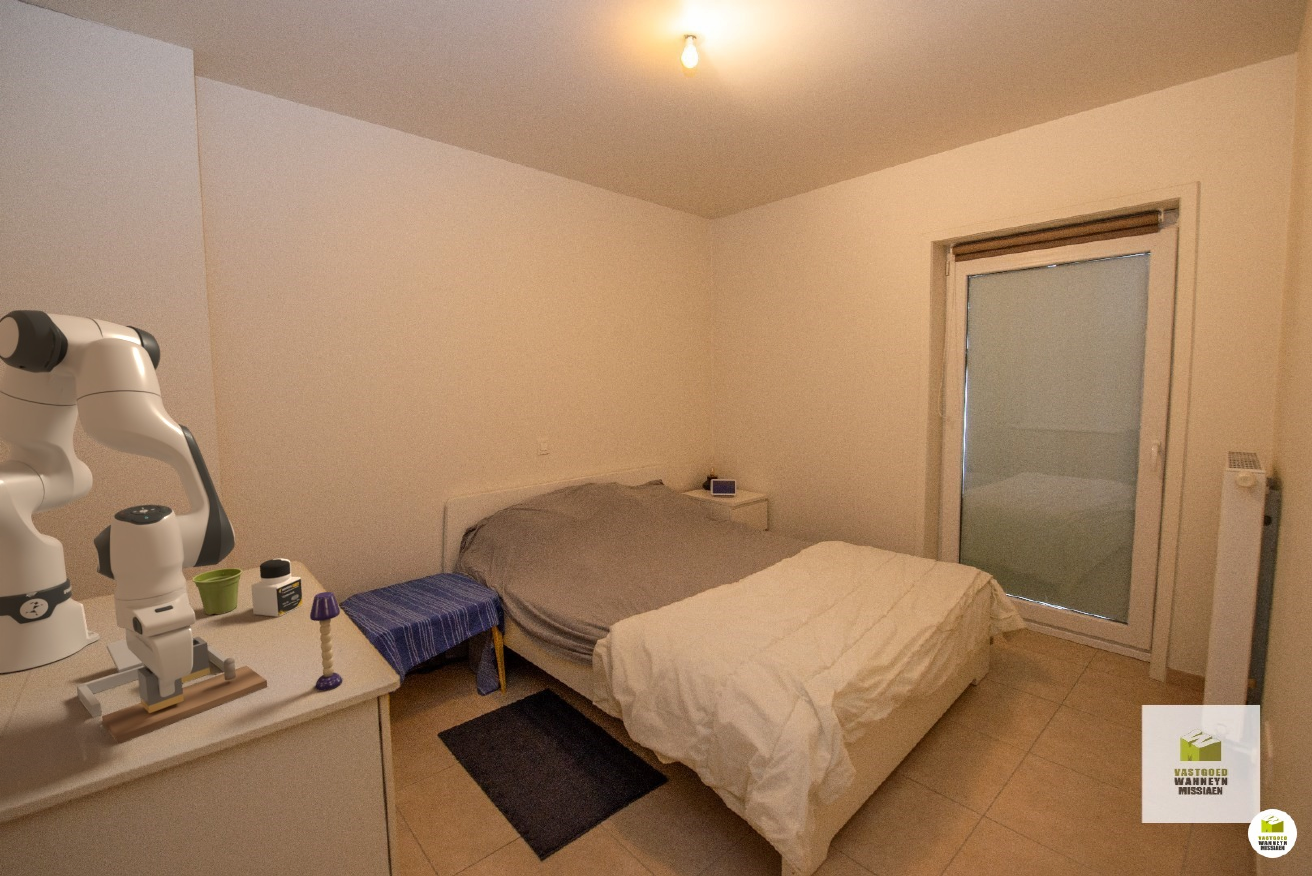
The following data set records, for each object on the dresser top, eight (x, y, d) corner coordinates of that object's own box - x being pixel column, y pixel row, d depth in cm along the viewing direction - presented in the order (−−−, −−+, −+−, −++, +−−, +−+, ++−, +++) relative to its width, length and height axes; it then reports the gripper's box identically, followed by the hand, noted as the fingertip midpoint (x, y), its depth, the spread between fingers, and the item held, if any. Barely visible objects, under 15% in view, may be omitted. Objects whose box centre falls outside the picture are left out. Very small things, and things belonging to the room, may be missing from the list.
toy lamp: (310, 683, 105) (304, 594, 103) (338, 674, 108) (333, 587, 107) (320, 693, 102) (314, 601, 100) (348, 683, 105) (343, 594, 103)
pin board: (102, 723, 93) (99, 689, 92) (246, 671, 109) (244, 643, 109) (118, 743, 88) (114, 708, 87) (267, 686, 104) (265, 656, 103)
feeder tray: (68, 683, 105) (64, 654, 105) (196, 643, 120) (194, 619, 120) (93, 717, 95) (89, 685, 94) (230, 669, 110) (228, 642, 109)
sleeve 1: (141, 704, 95) (137, 669, 94) (174, 692, 99) (171, 658, 98) (149, 713, 93) (145, 677, 92) (183, 700, 96) (180, 666, 95)
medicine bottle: (278, 617, 134) (275, 566, 132) (252, 614, 135) (248, 564, 134) (303, 605, 141) (300, 557, 139) (278, 603, 142) (274, 555, 141)
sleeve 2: (172, 676, 108) (169, 645, 107) (201, 666, 111) (198, 636, 110) (180, 683, 105) (177, 651, 104) (209, 673, 109) (207, 642, 108)
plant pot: (207, 621, 131) (204, 584, 130) (187, 613, 136) (184, 577, 135) (252, 607, 139) (250, 572, 139) (233, 599, 144) (230, 565, 143)
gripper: (109, 598, 97) (117, 677, 99) (146, 630, 85) (155, 719, 87) (157, 587, 102) (164, 662, 104) (199, 615, 90) (206, 699, 92)
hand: (161, 688), depth 95 cm, fingers closed on sleeve 1, 4 cm apart
